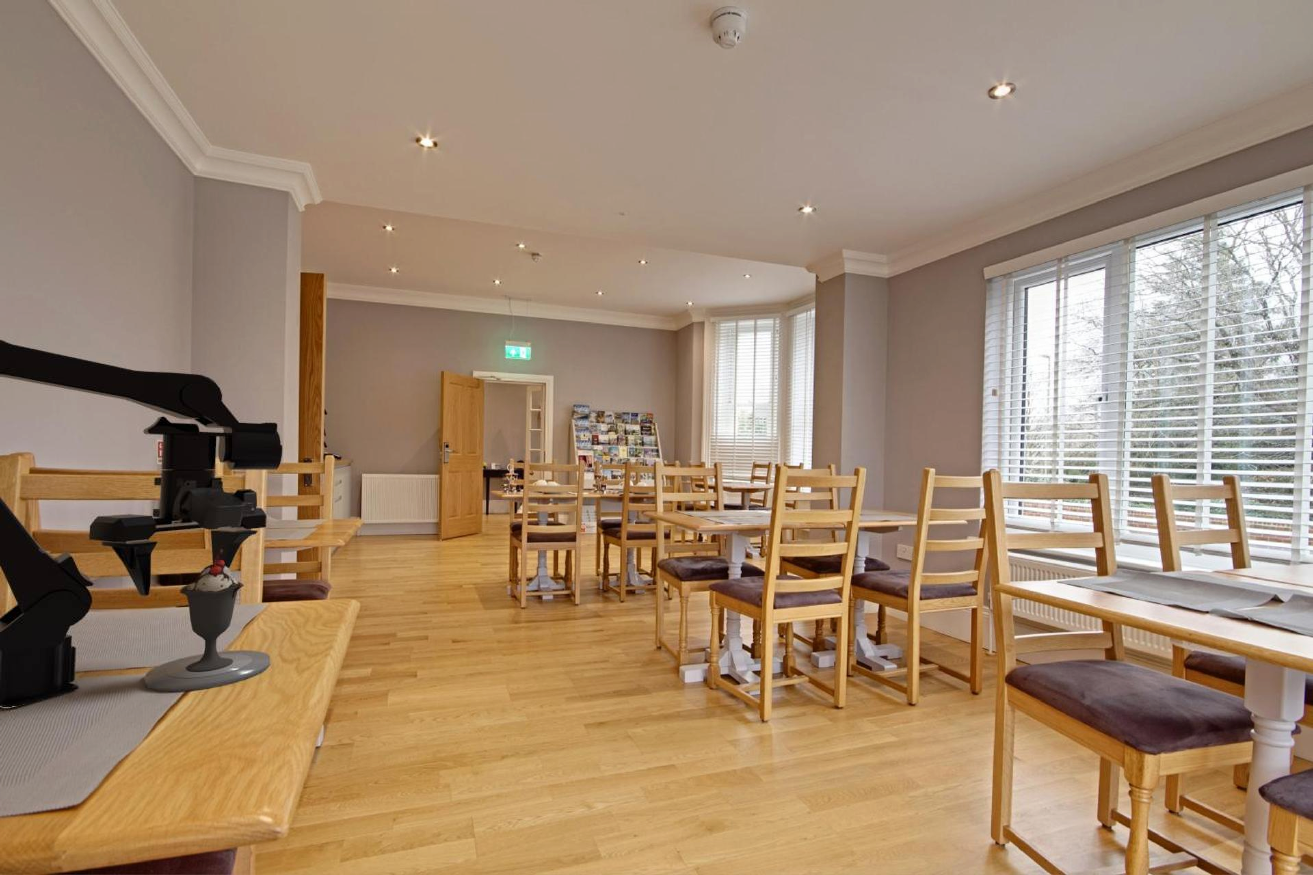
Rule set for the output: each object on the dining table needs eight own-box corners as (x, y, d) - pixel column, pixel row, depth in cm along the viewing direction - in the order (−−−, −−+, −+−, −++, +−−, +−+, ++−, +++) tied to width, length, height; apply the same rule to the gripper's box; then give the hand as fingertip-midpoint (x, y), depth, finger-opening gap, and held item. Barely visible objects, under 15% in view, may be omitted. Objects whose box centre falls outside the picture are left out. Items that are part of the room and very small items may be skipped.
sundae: (217, 674, 76) (222, 552, 77) (163, 673, 76) (168, 551, 77) (253, 657, 83) (257, 544, 83) (203, 656, 83) (208, 543, 83)
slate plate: (192, 697, 71) (192, 689, 71) (119, 682, 76) (119, 674, 76) (292, 662, 84) (293, 656, 84) (224, 651, 88) (225, 645, 88)
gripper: (149, 472, 71) (143, 610, 70) (296, 470, 88) (292, 581, 88) (89, 470, 75) (83, 601, 74) (241, 469, 92) (237, 574, 92)
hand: (183, 588), depth 82 cm, fingers open, 9 cm apart
